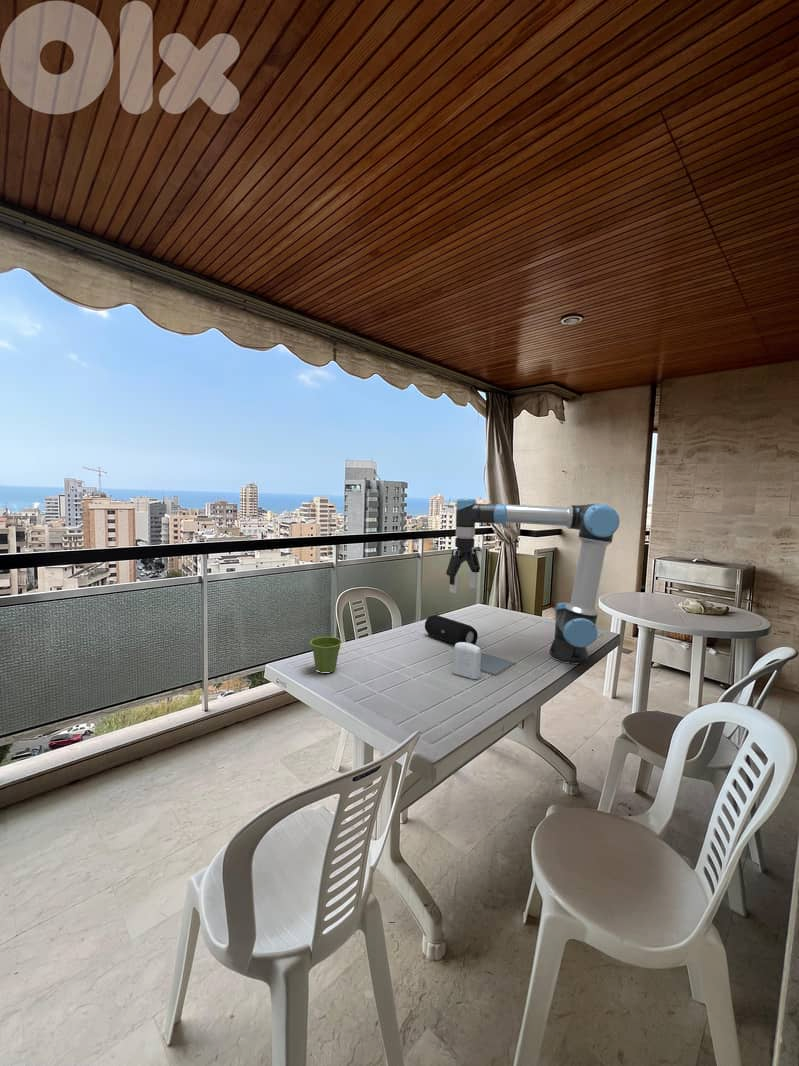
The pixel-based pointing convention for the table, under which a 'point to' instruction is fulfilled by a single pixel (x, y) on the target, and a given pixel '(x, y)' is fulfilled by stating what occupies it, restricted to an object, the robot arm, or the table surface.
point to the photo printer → (467, 660)
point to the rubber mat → (494, 664)
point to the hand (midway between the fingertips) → (463, 590)
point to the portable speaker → (450, 630)
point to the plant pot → (325, 652)
